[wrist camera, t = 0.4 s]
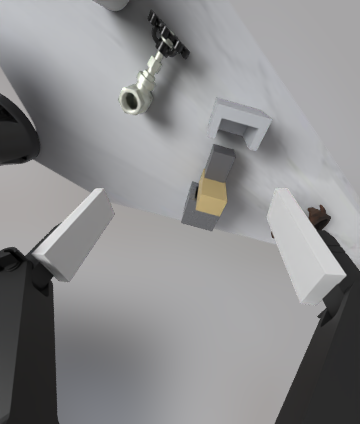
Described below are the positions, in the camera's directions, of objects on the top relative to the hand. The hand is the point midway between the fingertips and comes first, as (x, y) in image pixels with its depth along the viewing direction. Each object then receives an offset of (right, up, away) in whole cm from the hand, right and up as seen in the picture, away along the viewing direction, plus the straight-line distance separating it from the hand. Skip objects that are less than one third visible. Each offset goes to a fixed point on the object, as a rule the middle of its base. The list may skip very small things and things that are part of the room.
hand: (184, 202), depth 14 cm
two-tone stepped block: (+6, +5, +24) cm, 26 cm away
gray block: (+5, +3, +29) cm, 30 cm away
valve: (-5, +22, +15) cm, 28 cm away
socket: (+9, +16, +17) cm, 25 cm away
